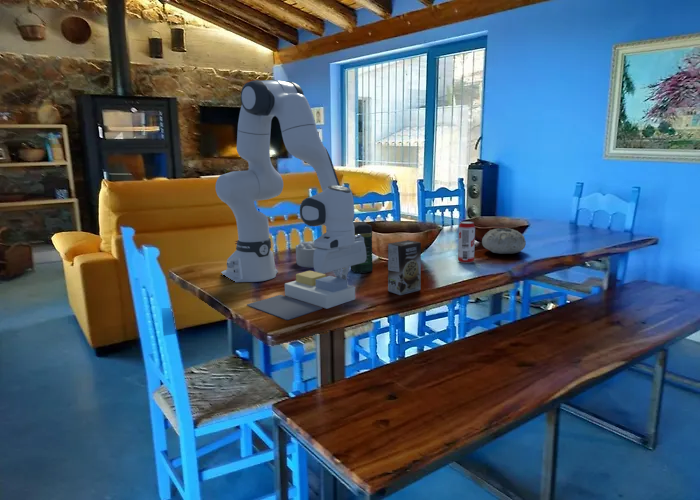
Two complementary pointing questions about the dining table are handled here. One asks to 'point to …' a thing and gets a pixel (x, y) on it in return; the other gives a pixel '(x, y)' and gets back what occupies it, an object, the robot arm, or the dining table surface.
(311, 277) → the olive yellow block
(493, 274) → the dining table surface
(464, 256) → the beer can
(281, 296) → the mat
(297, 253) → the lumpy-topped squat cylinder
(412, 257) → the coffee box
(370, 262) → the coffee jar
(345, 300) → the block
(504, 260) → the dining table surface
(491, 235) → the grey rounded lump
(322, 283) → the blue-grey rectangular block
